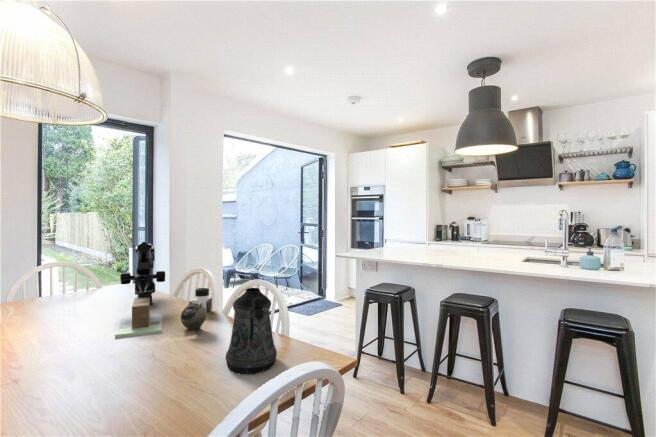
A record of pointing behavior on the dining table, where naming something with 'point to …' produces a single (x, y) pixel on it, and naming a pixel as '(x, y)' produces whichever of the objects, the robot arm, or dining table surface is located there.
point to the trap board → (139, 331)
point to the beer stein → (251, 335)
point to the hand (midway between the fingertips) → (142, 292)
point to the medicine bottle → (203, 298)
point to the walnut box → (140, 312)
